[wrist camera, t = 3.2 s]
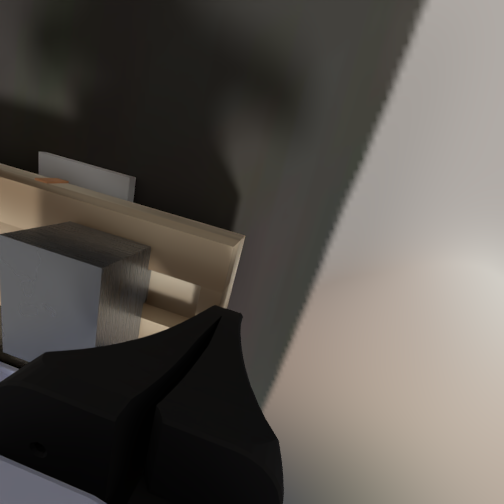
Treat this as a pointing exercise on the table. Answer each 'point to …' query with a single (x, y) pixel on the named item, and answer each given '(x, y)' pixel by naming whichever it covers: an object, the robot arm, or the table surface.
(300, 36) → the table surface
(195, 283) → the tan slotted track
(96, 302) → the block
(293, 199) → the table surface
